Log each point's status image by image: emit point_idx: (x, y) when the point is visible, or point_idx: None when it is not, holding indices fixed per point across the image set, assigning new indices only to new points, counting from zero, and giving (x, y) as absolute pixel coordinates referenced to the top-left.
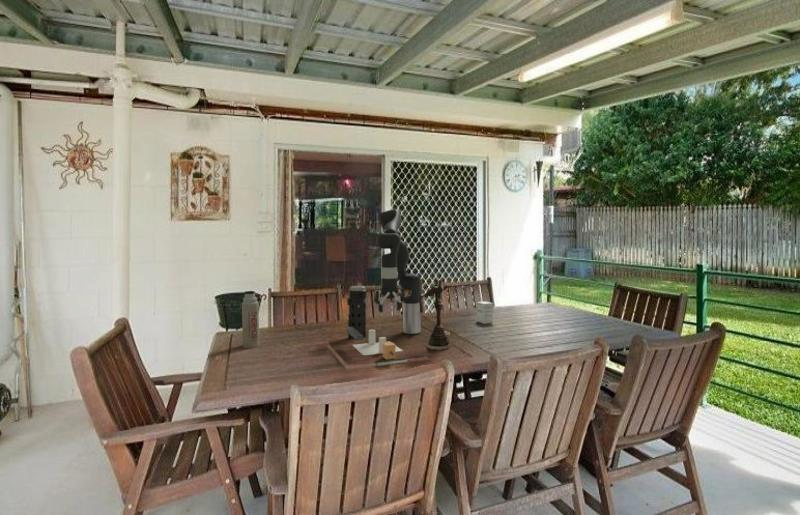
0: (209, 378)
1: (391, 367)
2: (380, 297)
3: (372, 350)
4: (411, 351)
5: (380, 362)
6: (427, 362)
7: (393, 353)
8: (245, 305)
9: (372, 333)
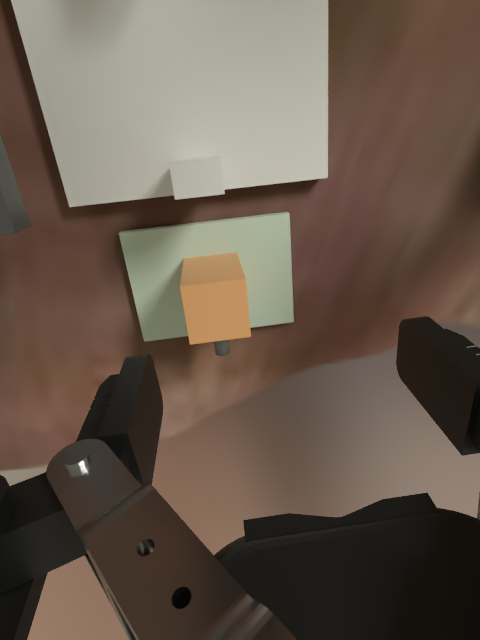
0: None
1: (201, 369)
2: (83, 542)
3: (138, 110)
4: (387, 136)
5: (159, 324)
6: (374, 340)
7: (224, 354)
8: None
9: None
